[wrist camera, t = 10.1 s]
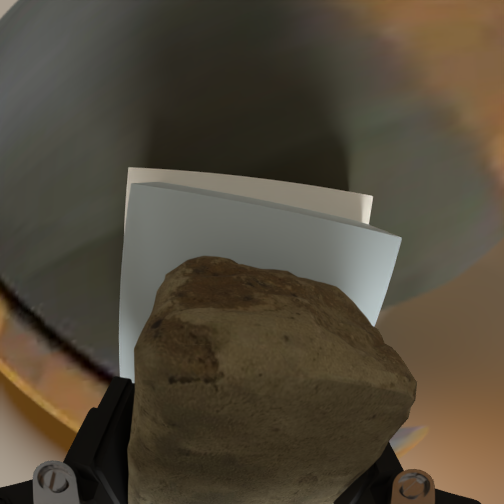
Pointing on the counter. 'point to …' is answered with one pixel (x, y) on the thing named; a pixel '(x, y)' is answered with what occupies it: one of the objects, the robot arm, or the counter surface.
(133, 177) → the tower base slab
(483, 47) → the counter surface
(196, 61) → the counter surface
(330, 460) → the stone block
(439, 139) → the counter surface
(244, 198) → the tower top slab
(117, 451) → the robot arm
